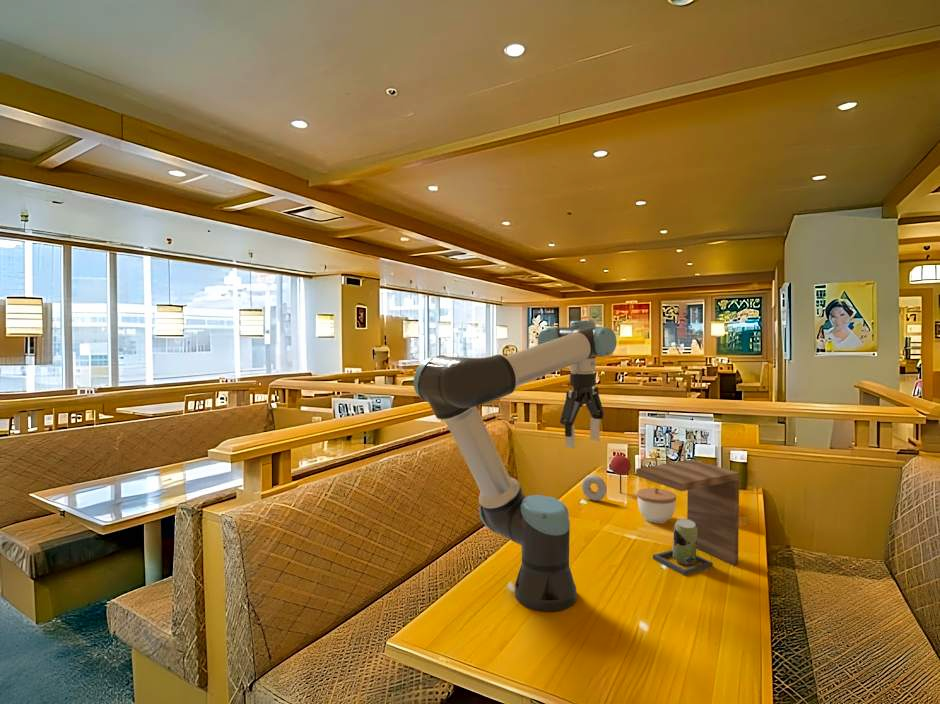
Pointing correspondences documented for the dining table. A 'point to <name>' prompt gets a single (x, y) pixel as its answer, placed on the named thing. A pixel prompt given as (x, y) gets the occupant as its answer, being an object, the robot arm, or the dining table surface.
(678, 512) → the dining table surface
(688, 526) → the beverage can
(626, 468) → the lollipop
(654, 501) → the lidded bowl
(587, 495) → the donut
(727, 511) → the walnut shelf
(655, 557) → the grey square frame
